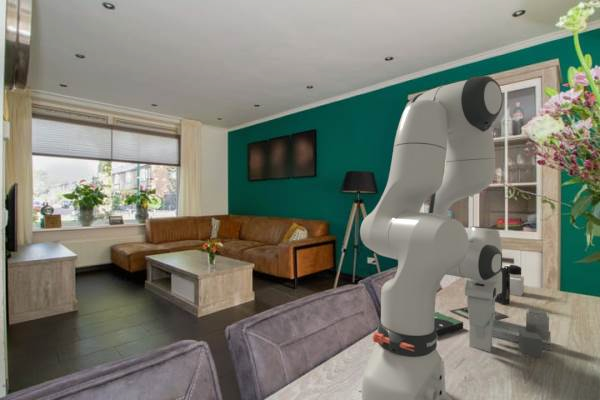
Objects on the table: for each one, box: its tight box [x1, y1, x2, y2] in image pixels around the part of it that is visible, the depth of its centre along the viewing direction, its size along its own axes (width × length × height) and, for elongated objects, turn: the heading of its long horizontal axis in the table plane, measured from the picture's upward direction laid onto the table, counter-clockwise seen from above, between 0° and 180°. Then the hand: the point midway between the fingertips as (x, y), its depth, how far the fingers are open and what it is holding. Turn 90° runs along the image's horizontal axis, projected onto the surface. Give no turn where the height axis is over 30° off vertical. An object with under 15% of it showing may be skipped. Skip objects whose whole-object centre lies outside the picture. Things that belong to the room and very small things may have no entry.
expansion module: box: [468, 321, 493, 353], centre depth 84 cm, size 4×5×7 cm
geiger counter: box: [495, 265, 511, 306], centre depth 121 cm, size 10×4×15 cm, turn 21°
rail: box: [490, 306, 552, 351], centre depth 90 cm, size 6×19×9 cm, turn 51°
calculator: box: [449, 306, 509, 320], centre depth 107 cm, size 12×1×15 cm
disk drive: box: [434, 311, 464, 338], centre depth 97 cm, size 10×3×15 cm
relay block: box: [518, 331, 543, 359], centre depth 81 cm, size 4×4×5 cm
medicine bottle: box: [504, 264, 525, 297], centre depth 131 cm, size 7×7×12 cm
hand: (483, 332), depth 84 cm, fingers open, 8 cm apart
